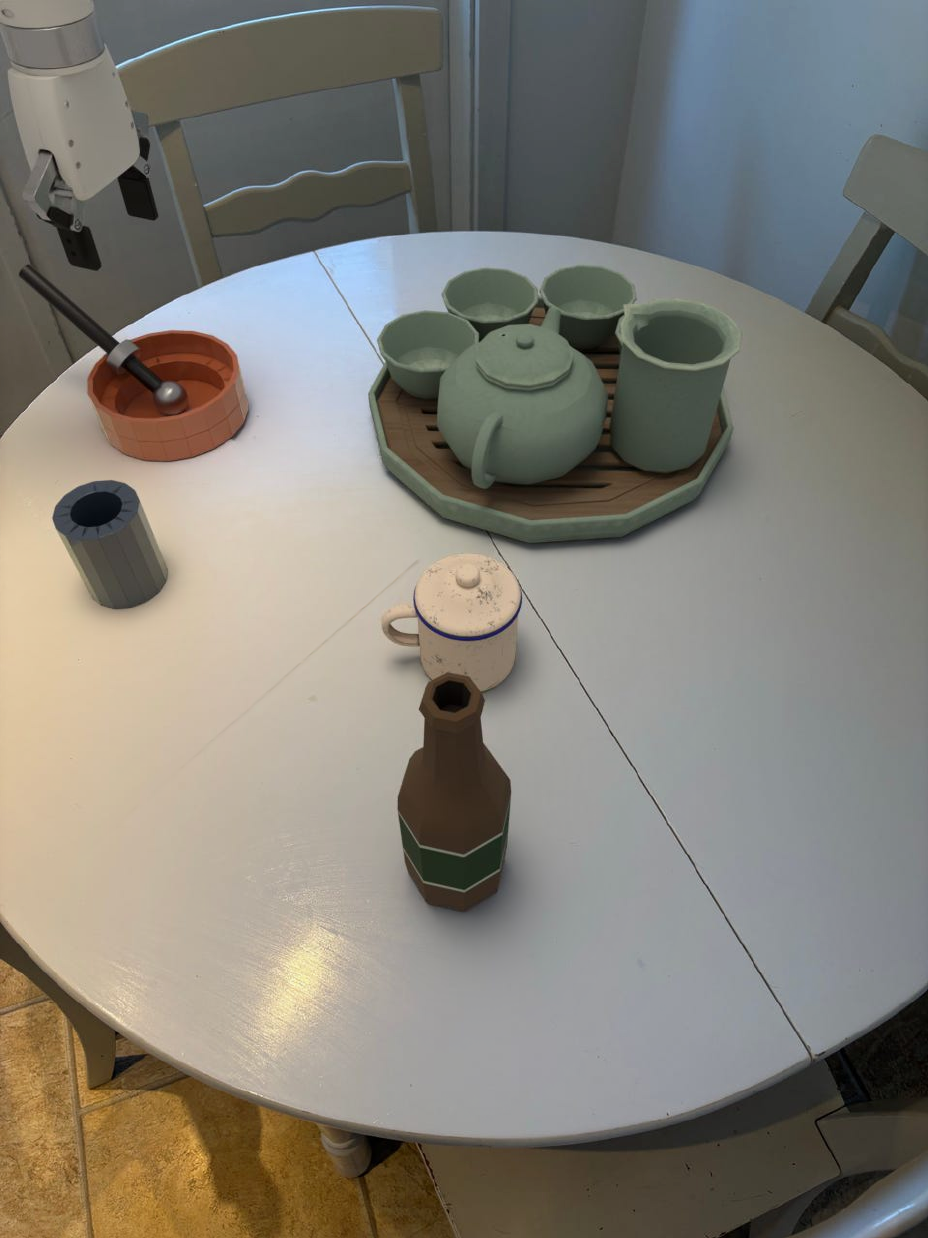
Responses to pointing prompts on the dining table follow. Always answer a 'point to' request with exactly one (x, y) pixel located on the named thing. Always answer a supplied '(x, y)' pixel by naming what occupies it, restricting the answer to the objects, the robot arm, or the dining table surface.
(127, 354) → the ball-tipped black rod
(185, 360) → the bowl
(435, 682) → the beer bottle
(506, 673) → the teacup with lid
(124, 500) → the crock
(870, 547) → the dining table surface
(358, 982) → the dining table surface
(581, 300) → the tea set
